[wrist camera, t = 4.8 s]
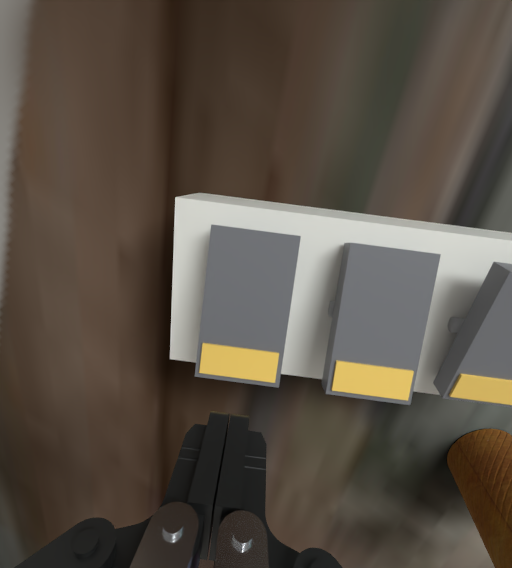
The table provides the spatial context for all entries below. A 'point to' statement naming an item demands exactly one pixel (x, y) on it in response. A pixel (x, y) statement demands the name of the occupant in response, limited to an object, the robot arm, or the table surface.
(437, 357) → the console
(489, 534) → the disposable coffee cup
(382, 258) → the block
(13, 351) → the table surface
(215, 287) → the rocker
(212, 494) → the robot arm
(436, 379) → the rocker
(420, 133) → the table surface
